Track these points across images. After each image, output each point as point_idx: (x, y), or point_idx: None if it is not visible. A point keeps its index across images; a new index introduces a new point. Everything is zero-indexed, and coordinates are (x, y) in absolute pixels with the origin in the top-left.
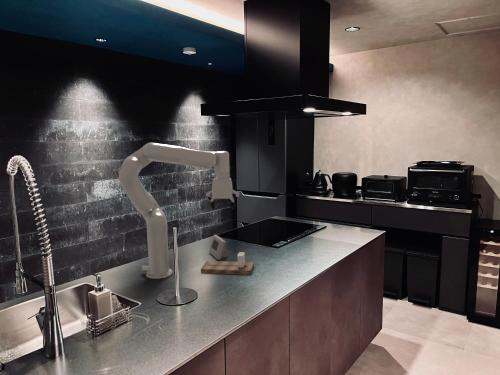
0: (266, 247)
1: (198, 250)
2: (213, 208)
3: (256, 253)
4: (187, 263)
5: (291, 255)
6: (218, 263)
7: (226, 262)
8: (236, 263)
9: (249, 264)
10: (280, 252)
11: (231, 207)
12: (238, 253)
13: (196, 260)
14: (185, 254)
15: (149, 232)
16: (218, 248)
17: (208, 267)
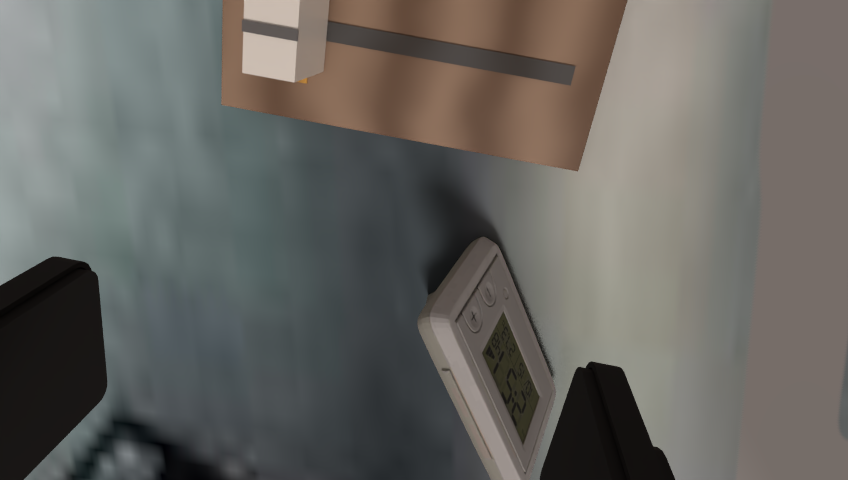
0: (190, 430)
1: None
2: (594, 383)
3: (240, 338)
4: (719, 204)
5: None
6: (486, 103)
7: (424, 120)
8: (347, 89)
9: None
10: None
11: (33, 288)
12: (296, 49)
13: (647, 258)
14: (720, 382)
15: None
16: (486, 306)
17: (567, 14)
